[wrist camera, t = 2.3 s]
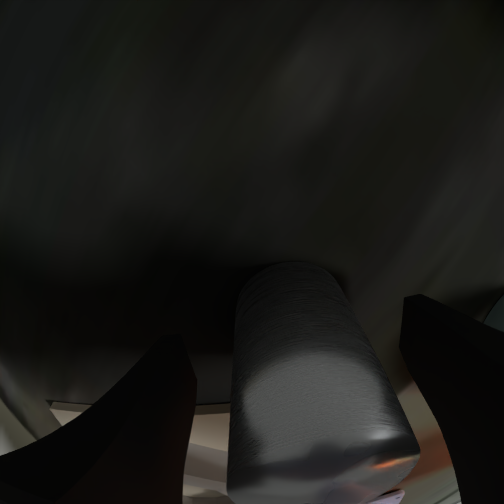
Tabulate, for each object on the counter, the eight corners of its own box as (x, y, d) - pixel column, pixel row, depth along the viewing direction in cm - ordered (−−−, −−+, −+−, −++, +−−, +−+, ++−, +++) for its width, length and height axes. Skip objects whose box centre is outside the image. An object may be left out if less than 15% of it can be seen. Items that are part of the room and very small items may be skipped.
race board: (303, 500, 18) (306, 528, 15) (140, 502, 18) (135, 526, 16) (289, 396, 13) (295, 441, 11) (53, 401, 14) (35, 433, 11)
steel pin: (344, 344, 12) (400, 495, 6) (246, 360, 12) (246, 523, 6) (341, 252, 11) (441, 404, 4) (226, 271, 11) (201, 450, 4)
